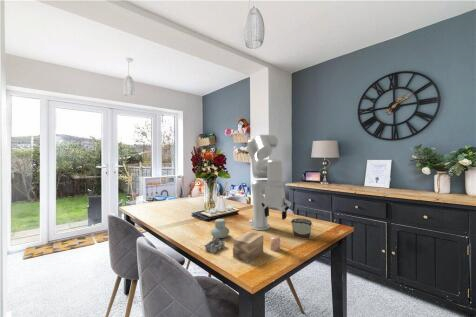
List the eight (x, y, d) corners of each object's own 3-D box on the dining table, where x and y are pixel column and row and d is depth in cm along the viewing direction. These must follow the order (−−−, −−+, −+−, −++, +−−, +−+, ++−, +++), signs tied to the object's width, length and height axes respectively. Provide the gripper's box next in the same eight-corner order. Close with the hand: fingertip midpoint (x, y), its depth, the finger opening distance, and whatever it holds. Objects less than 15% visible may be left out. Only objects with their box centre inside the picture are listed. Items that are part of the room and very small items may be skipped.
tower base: (233, 257, 107) (232, 248, 107) (248, 248, 118) (248, 239, 118) (248, 263, 102) (248, 253, 102) (263, 252, 112) (263, 243, 112)
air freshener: (220, 241, 127) (220, 223, 127) (209, 238, 131) (208, 221, 131) (231, 235, 136) (230, 218, 136) (220, 232, 141) (219, 216, 141)
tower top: (233, 248, 107) (233, 239, 107) (248, 239, 117) (248, 231, 117) (249, 253, 102) (249, 243, 102) (263, 243, 112) (263, 234, 112)
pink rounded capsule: (268, 249, 115) (268, 238, 115) (273, 246, 119) (273, 235, 119) (277, 252, 112) (277, 240, 112) (282, 248, 116) (281, 237, 116)
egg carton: (216, 243, 124) (216, 236, 124) (227, 247, 120) (227, 239, 119) (202, 250, 116) (202, 242, 116) (213, 254, 111) (213, 245, 111)
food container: (314, 236, 132) (314, 219, 132) (312, 240, 127) (312, 222, 126) (294, 233, 138) (293, 217, 138) (290, 236, 133) (290, 219, 133)
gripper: (256, 183, 117) (257, 216, 117) (287, 185, 106) (288, 222, 107) (263, 182, 123) (264, 213, 123) (293, 184, 112) (294, 218, 113)
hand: (275, 217), depth 115 cm, fingers open, 9 cm apart
